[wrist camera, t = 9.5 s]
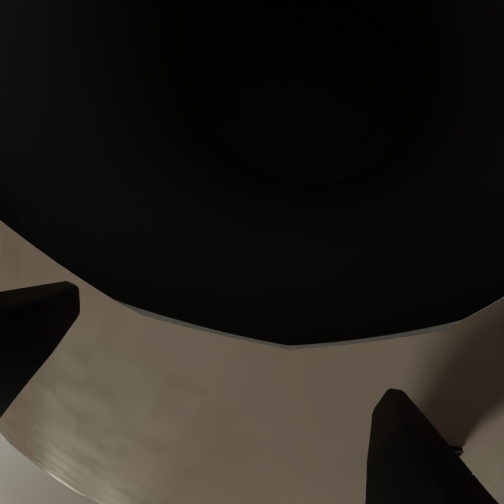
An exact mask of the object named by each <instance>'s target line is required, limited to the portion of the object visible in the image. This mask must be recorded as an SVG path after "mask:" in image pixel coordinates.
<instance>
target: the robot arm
mask: <svg viewBox="0 0 504 504" xmlns="http://www.w3.org/2000/svg"><path fill="white" fill-rule="evenodd" d="M79 313H80V299H79V288H78V287H77V286H76V285H75V284H72V283H70V282H68V281H63V282H57V283H51V284H45V285H39V286H33V287H27V288H20V289H14V290H8V291H2V292H0V418H1V416H2V415H3V414H4V412H5V411H6V410H7V408H8V407H9V406H10V404H11V403H12V402H13V401H14V399H15V398H16V397H17V395H18V394H19V393H20V392H21V390H22V389H23V388H24V387H25V385H26V384H27V383H28V382H29V380H30V379H31V378H32V377H33V376H34V374H35V373H36V372H37V371H38V369H39V368H40V367H41V366H42V365H43V363H44V362H45V361H46V360H47V359H48V358H49V356H50V355H51V354H52V353H53V351H54V350H55V348H56V347H57V346H58V344H59V343H60V341H61V340H62V338H63V337H64V336H65V334H66V333H67V331H68V330H69V328H70V327H71V326H72V324H73V323H74V322H75V320H76V319H77V317H78V315H79ZM462 454H463V449H462V448H451V447H450V445H449V444H448V443H447V442H446V441H445V439H444V438H443V437H442V436H441V435H440V433H439V432H438V431H437V430H436V429H435V428H434V426H433V425H432V424H431V423H430V422H429V420H428V419H427V418H426V417H425V416H424V415H423V413H422V412H421V411H420V410H419V409H418V407H417V406H416V405H415V404H414V403H413V402H412V400H411V399H410V398H409V397H408V396H407V395H406V393H405V392H404V391H402V390H398V389H393V388H391V389H388V390H387V391H386V392H385V394H384V395H383V397H382V398H381V400H380V401H379V403H378V404H377V405H376V407H375V409H374V411H373V414H372V423H371V432H370V441H369V449H368V458H367V480H366V503H365V504H499V503H498V502H497V501H496V500H495V499H494V498H493V497H492V496H491V495H490V494H489V492H488V491H487V490H486V489H485V488H484V487H483V485H482V484H481V483H480V482H479V481H478V479H477V478H476V477H475V476H474V475H472V472H471V471H470V470H469V468H468V467H467V466H466V465H465V463H464V462H463V461H462V460H461V459H460V456H461V455H462Z"/></svg>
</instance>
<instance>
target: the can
mask: <svg viewBox="0 0 504 504" xmlns="http://www.w3.org/2000/svg"><path fill="white" fill-rule="evenodd" d="M0 220H1V221H2V222H3V223H5V224H6V225H7V226H9V227H10V228H11V229H12V230H14V231H15V232H16V233H18V234H19V235H20V236H22V237H23V238H24V239H26V240H27V241H28V242H30V243H31V244H32V245H34V246H35V247H36V248H38V249H39V250H40V251H42V252H43V253H45V254H46V255H47V256H49V257H50V258H52V259H53V260H55V261H56V262H57V263H59V264H60V265H62V266H63V267H65V268H66V269H68V270H69V271H71V272H72V273H73V274H75V275H76V276H78V277H79V278H81V279H82V280H84V281H86V282H87V283H89V284H90V285H92V286H93V287H95V288H96V289H98V290H99V291H101V292H103V293H104V294H106V295H107V296H109V297H111V298H112V299H114V300H116V301H117V302H119V303H121V304H123V305H125V306H127V307H128V308H130V309H132V310H134V311H136V312H138V313H140V314H142V315H144V316H148V317H151V318H155V319H159V320H162V321H166V322H170V323H173V324H177V325H181V326H185V327H189V328H193V329H197V330H201V331H205V332H209V333H214V334H218V335H222V336H227V337H231V338H236V339H240V340H245V341H250V342H255V343H260V344H265V345H270V346H275V347H280V348H286V349H305V348H317V347H327V346H337V345H347V344H355V343H363V342H371V341H379V340H386V339H393V338H399V337H406V336H412V335H418V334H424V333H429V332H435V331H440V330H445V329H448V328H450V327H452V326H454V325H456V324H458V323H460V322H462V321H464V320H466V319H468V318H470V317H472V316H473V315H475V314H477V313H479V312H481V311H483V310H484V309H486V308H488V307H490V306H491V305H493V304H495V303H497V302H498V301H500V300H502V299H503V298H504V0H0Z"/></svg>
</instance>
